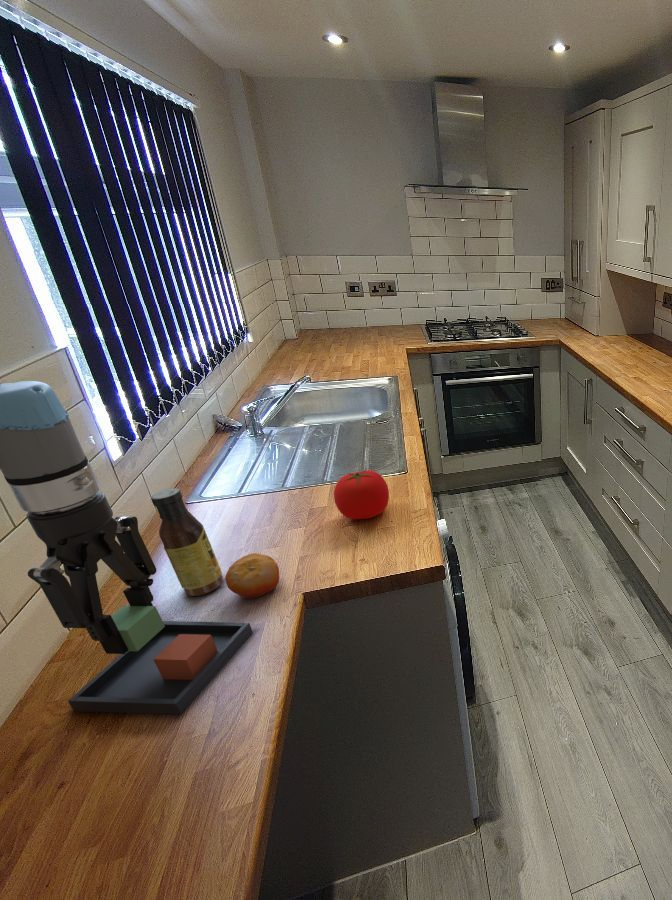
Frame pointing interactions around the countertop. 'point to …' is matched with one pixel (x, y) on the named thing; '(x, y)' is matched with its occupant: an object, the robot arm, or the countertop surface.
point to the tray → (158, 673)
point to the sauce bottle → (186, 544)
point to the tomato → (361, 494)
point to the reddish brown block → (185, 656)
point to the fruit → (252, 575)
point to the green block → (137, 625)
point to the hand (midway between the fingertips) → (134, 636)
